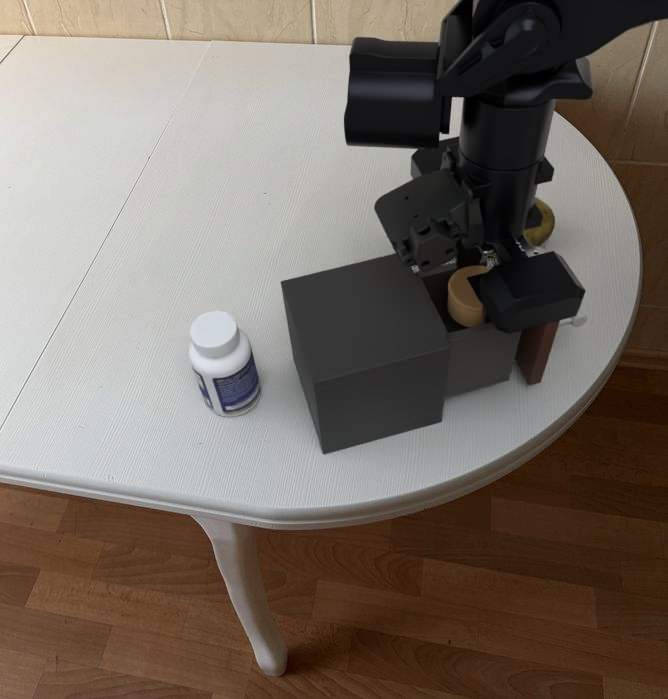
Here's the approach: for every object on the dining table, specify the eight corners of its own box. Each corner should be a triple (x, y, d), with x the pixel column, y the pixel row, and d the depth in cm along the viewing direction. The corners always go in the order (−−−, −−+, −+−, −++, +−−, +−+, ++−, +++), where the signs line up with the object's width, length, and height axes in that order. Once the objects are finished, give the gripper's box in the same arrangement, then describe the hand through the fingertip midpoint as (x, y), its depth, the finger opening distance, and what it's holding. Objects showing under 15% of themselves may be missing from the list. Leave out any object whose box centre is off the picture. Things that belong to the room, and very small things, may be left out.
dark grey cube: (401, 330, 69) (404, 250, 61) (441, 422, 63) (451, 347, 54) (293, 358, 68) (280, 280, 59) (323, 454, 61) (313, 383, 53)
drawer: (536, 294, 70) (554, 227, 63) (584, 371, 64) (609, 306, 57) (403, 329, 68) (405, 263, 61) (439, 410, 62) (447, 349, 55)
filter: (515, 299, 60) (519, 279, 58) (488, 338, 58) (492, 319, 56) (463, 277, 62) (465, 257, 60) (435, 314, 60) (437, 294, 58)
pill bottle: (270, 378, 67) (256, 311, 59) (248, 425, 64) (229, 361, 56) (219, 365, 68) (198, 298, 60) (194, 410, 65) (169, 345, 57)
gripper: (347, 94, 52) (354, 247, 64) (438, 268, 41) (425, 413, 53) (488, 63, 53) (468, 219, 65) (614, 224, 42) (562, 375, 54)
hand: (477, 299), depth 59 cm, fingers closed on drawer, filter, 5 cm apart
